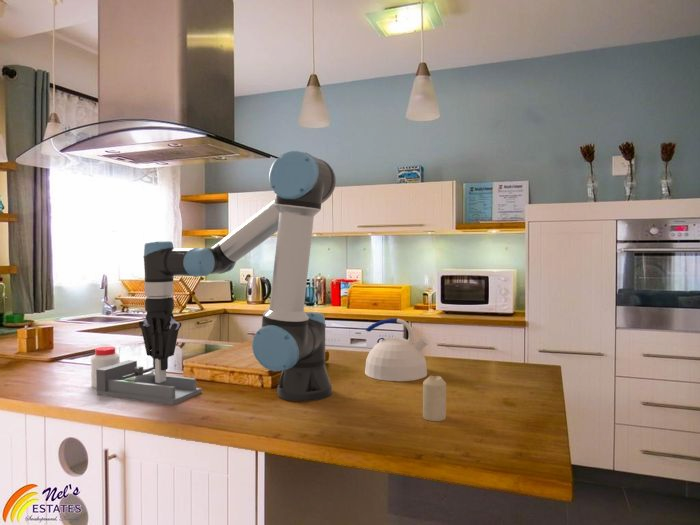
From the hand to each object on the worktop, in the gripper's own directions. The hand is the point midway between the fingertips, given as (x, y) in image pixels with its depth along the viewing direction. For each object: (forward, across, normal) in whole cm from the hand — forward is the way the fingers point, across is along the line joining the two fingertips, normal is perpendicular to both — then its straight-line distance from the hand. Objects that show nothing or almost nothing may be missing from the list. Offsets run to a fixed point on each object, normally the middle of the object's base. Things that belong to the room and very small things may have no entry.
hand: (160, 381), depth 143 cm
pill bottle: (+4, +23, -3) cm, 24 cm away
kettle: (+4, -55, -46) cm, 72 cm away
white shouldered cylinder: (+4, -75, -8) cm, 76 cm away
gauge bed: (+4, +4, 0) cm, 6 cm away
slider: (+3, +8, 0) cm, 8 cm away
